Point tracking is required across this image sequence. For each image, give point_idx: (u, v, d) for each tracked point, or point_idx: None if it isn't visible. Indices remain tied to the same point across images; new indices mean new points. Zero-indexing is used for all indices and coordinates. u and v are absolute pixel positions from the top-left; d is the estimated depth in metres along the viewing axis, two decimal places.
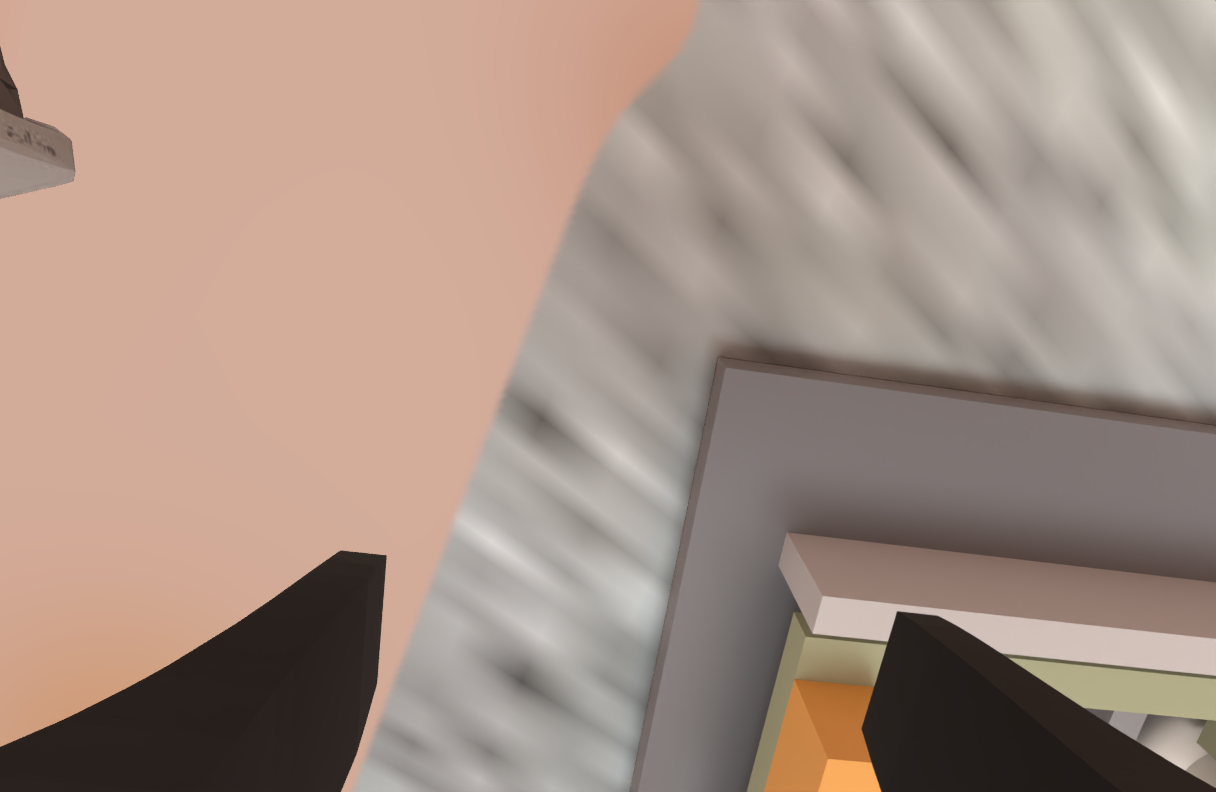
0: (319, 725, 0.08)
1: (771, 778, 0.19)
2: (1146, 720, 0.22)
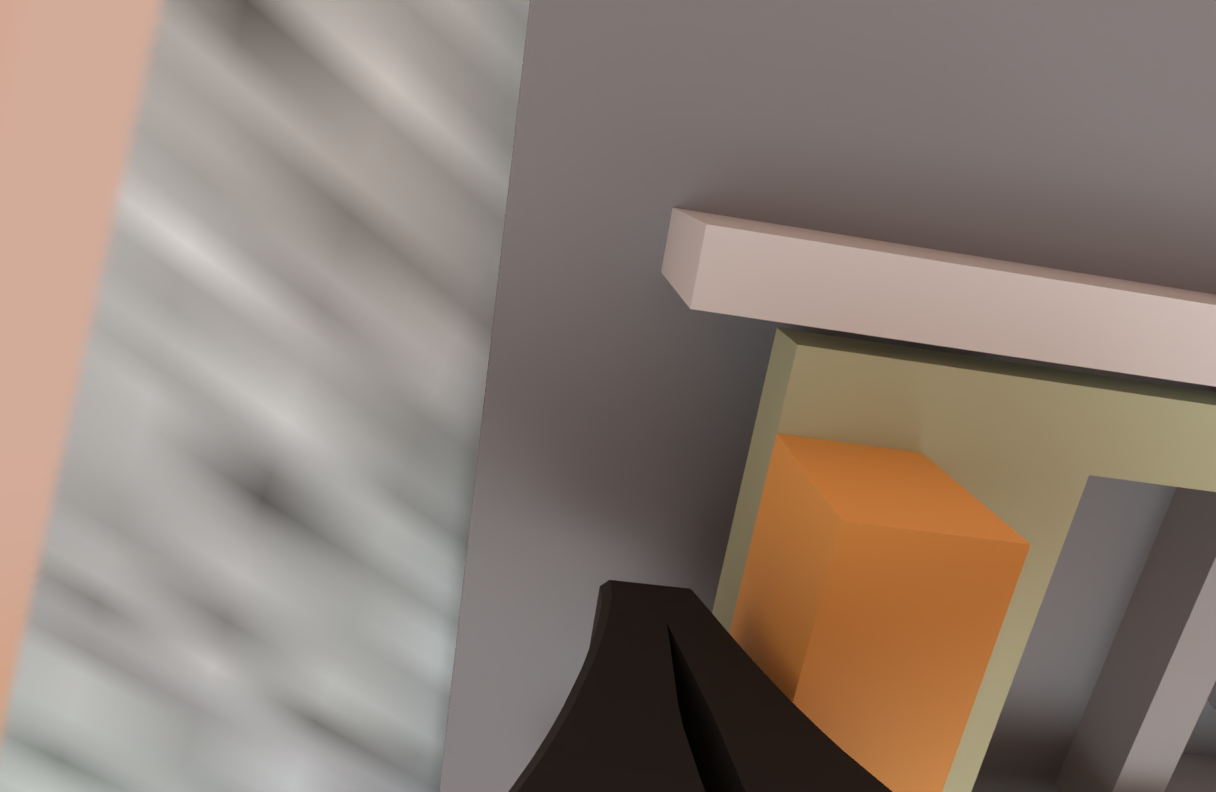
0: None
1: (736, 624, 0.10)
2: None
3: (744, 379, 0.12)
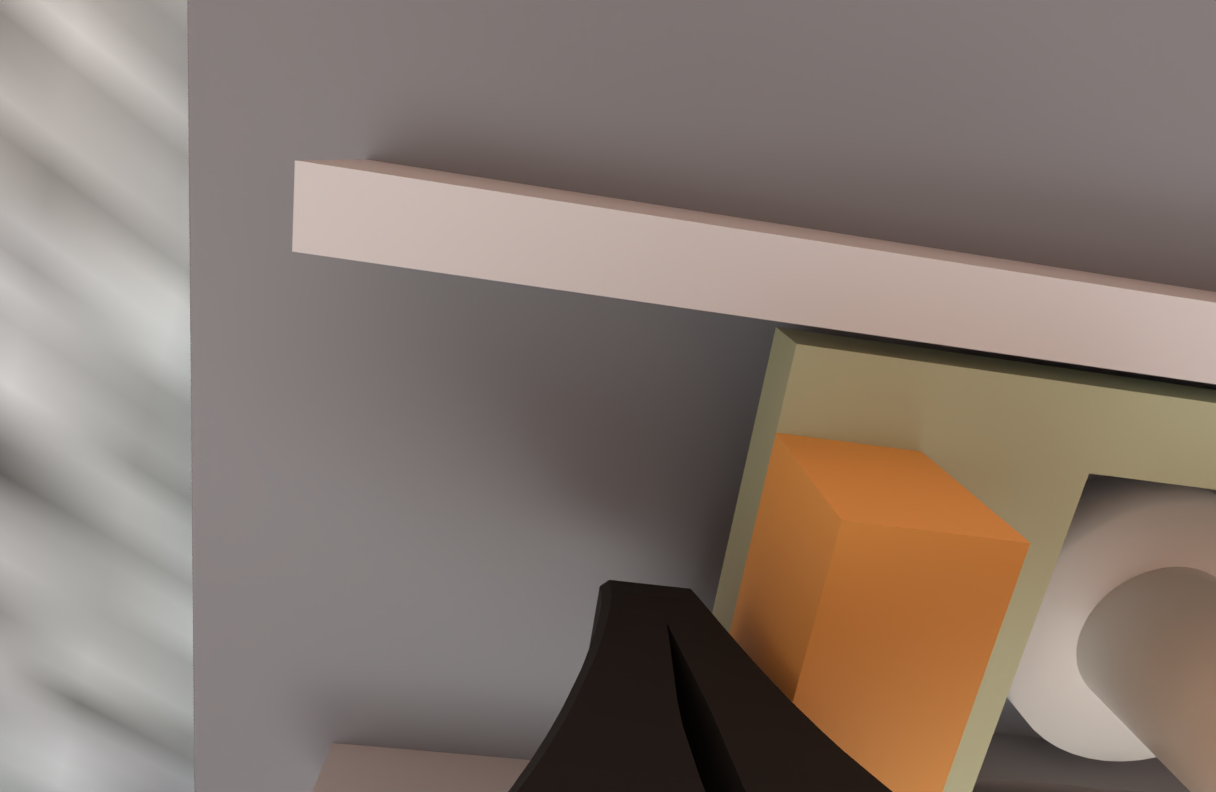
0: None
1: (737, 623, 0.10)
2: None
3: (462, 340, 0.12)
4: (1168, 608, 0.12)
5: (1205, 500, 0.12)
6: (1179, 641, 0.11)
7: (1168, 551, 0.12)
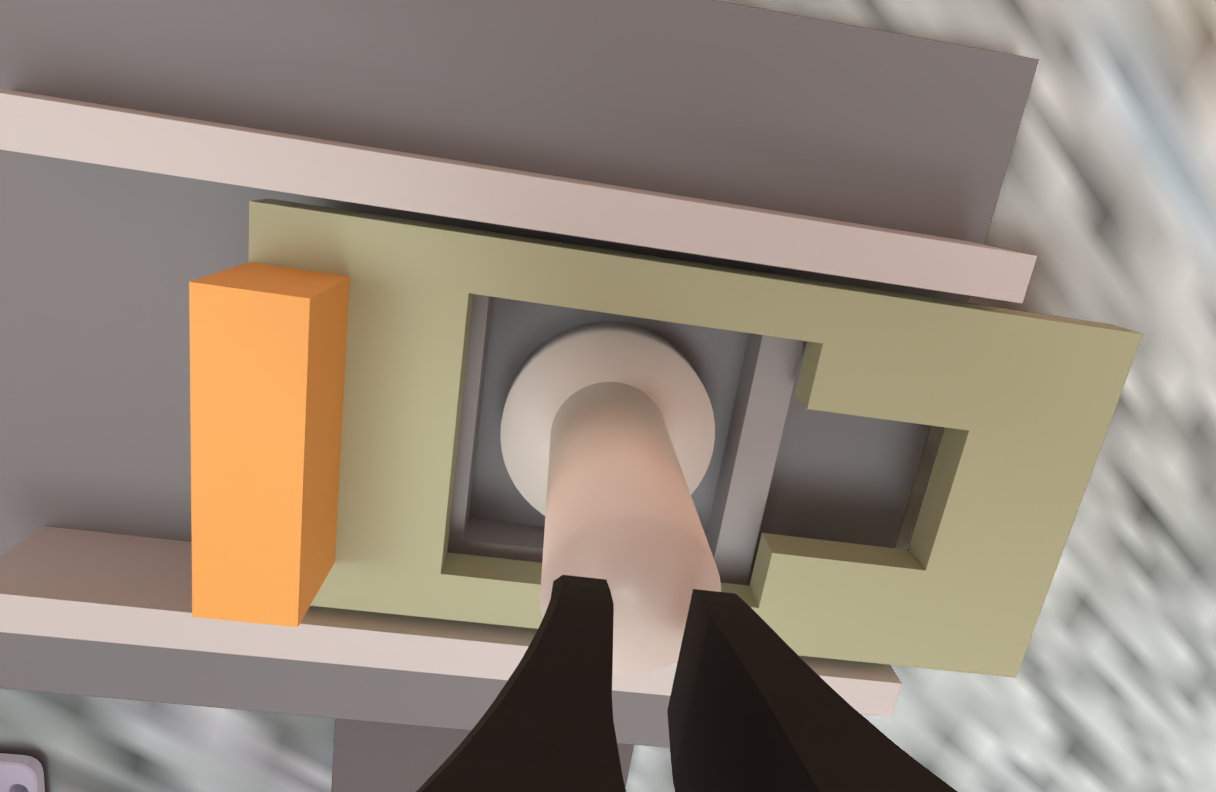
0: None
1: None
2: (524, 363, 0.19)
3: (96, 219, 0.17)
4: (578, 402, 0.17)
5: (619, 332, 0.18)
6: (567, 418, 0.17)
7: (600, 370, 0.18)
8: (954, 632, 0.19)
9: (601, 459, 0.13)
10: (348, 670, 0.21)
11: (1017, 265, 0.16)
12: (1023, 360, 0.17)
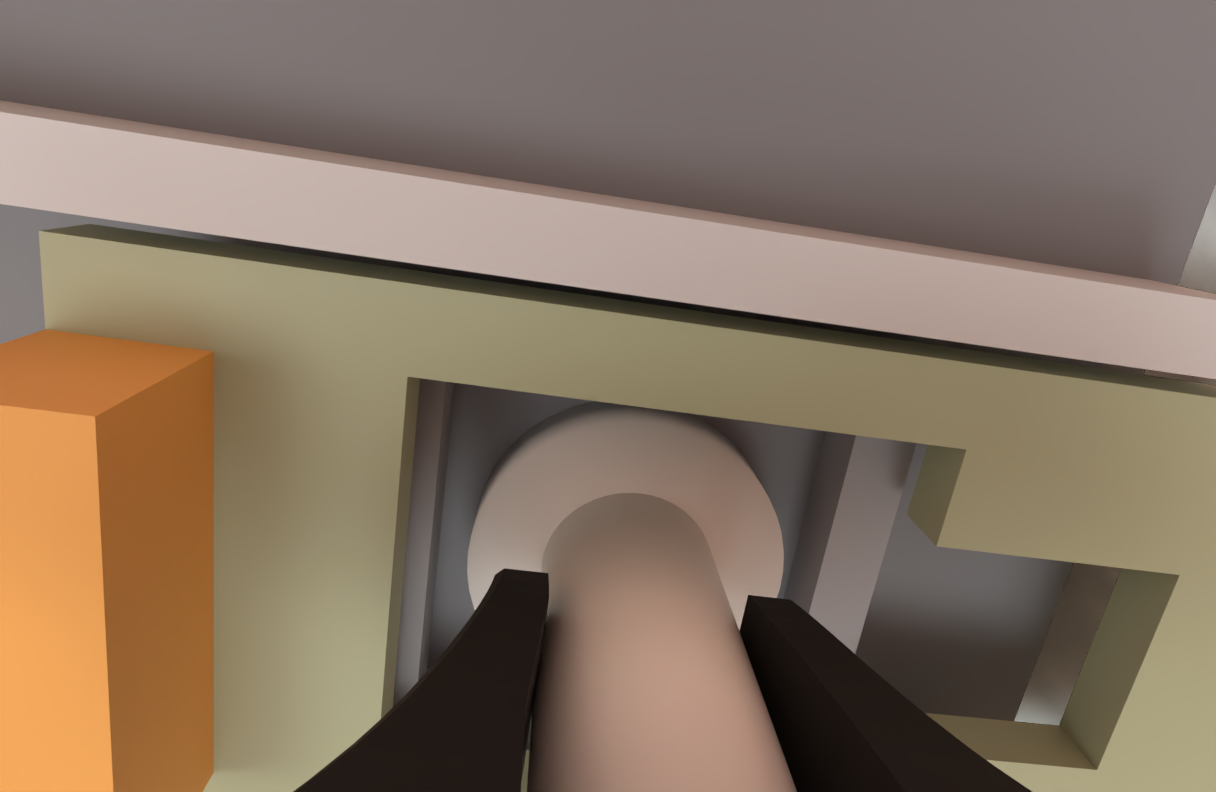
0: (523, 743, 0.08)
1: None
2: (504, 460, 0.13)
3: None
4: (583, 531, 0.11)
5: (644, 421, 0.12)
6: (566, 562, 0.11)
7: (616, 476, 0.12)
8: None
9: (627, 697, 0.08)
10: None
11: None
12: None
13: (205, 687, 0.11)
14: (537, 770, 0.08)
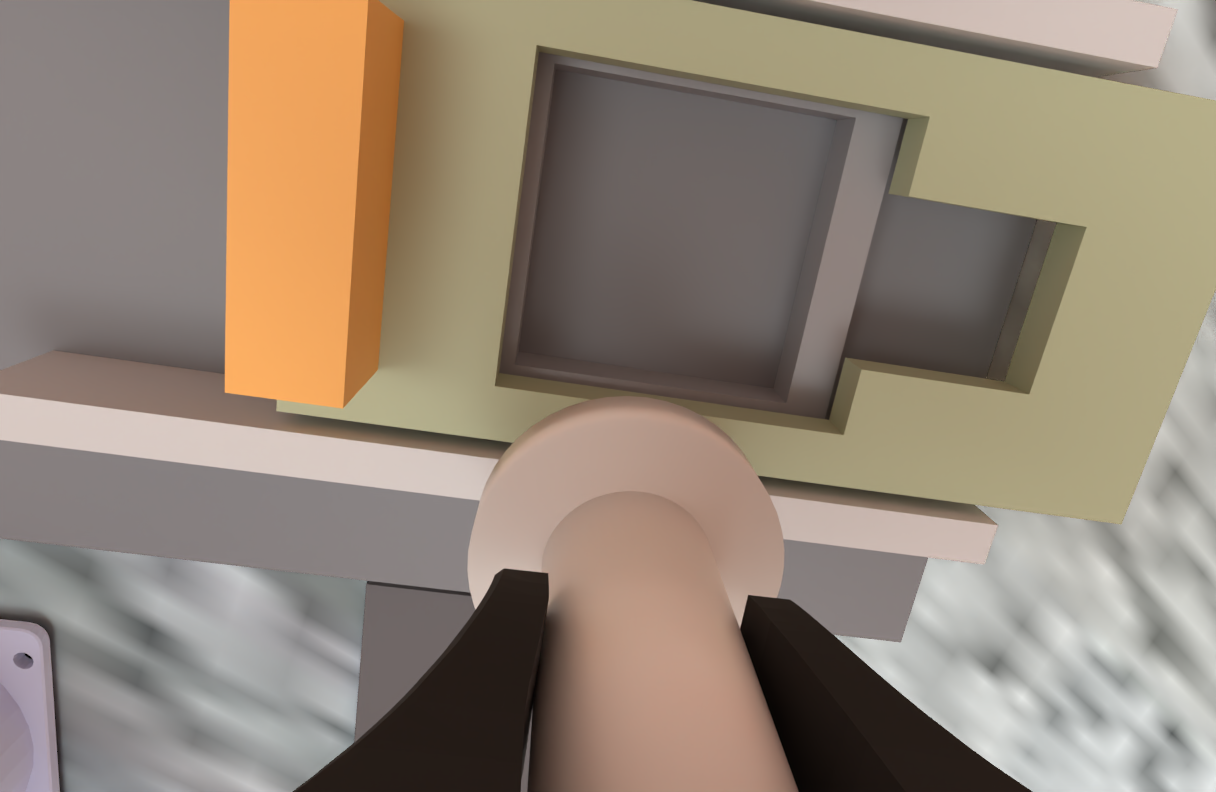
0: (523, 743, 0.08)
1: None
2: (504, 458, 0.13)
3: None
4: (583, 530, 0.11)
5: (645, 419, 0.12)
6: (567, 561, 0.11)
7: (616, 474, 0.12)
8: (1056, 469, 0.17)
9: (628, 694, 0.08)
10: (382, 526, 0.20)
11: (1154, 20, 0.14)
12: (1151, 143, 0.15)
13: (381, 288, 0.15)
14: (537, 768, 0.08)
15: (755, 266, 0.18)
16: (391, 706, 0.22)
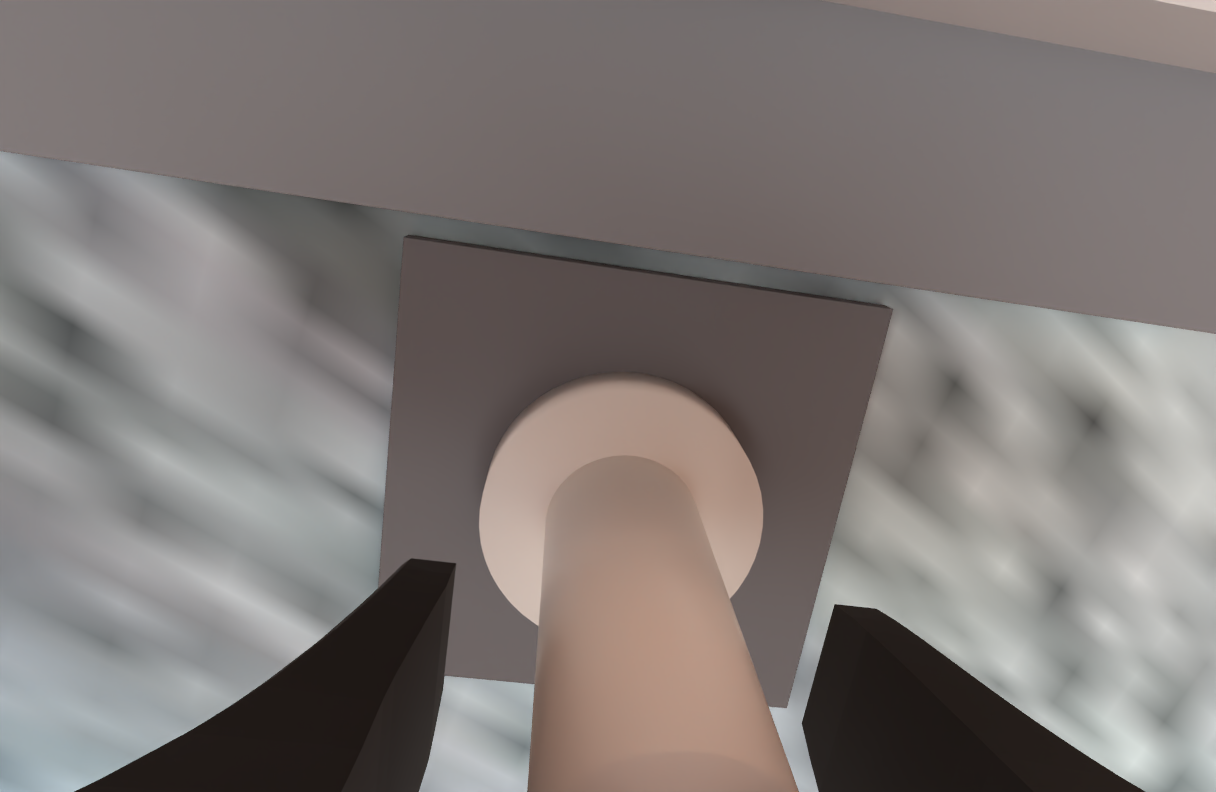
0: (407, 733, 0.08)
1: None
2: (512, 426, 0.14)
3: None
4: (583, 487, 0.13)
5: (638, 390, 0.13)
6: (568, 512, 0.12)
7: (613, 440, 0.13)
8: None
9: (619, 609, 0.09)
10: (432, 110, 0.12)
11: None
12: None
13: None
14: (543, 670, 0.09)
15: None
16: (440, 452, 0.15)
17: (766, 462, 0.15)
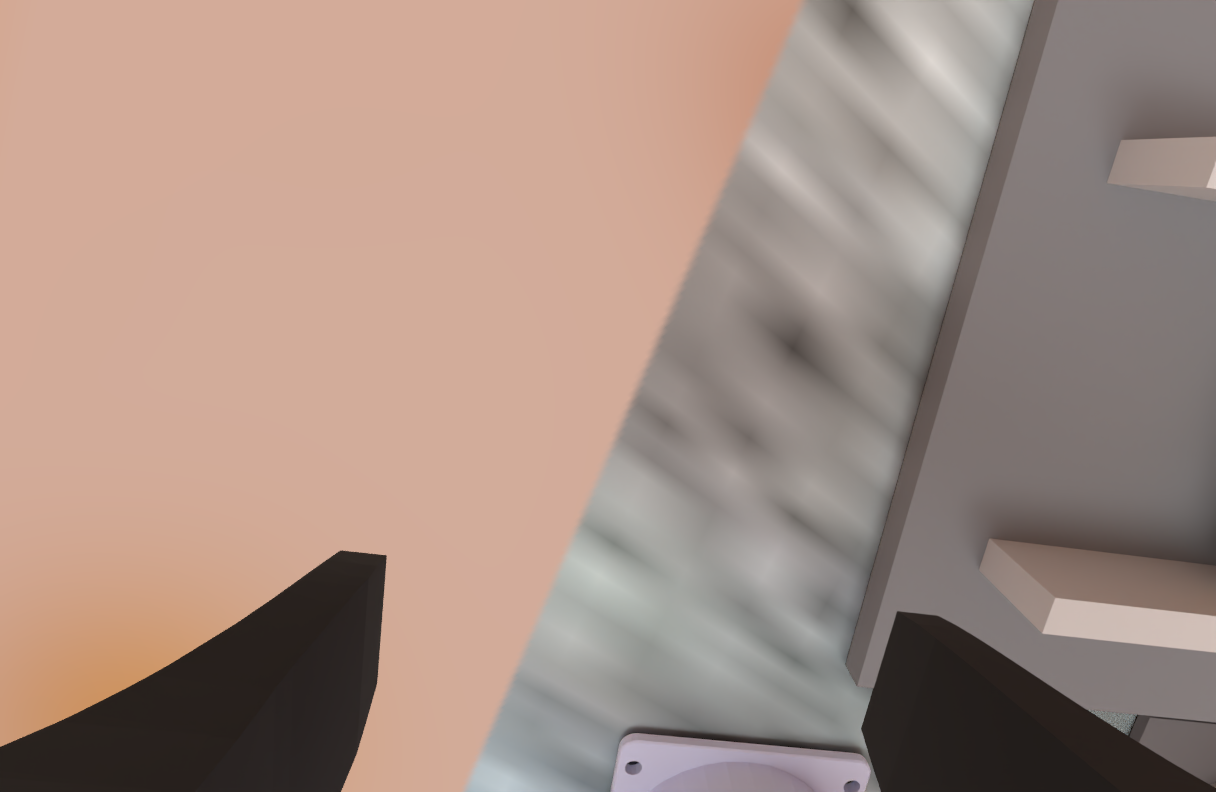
0: (318, 725, 0.08)
1: None
2: None
3: (1148, 256, 0.19)
4: None
5: None
6: None
7: None
8: None
9: None
10: (1203, 673, 0.23)
11: None
12: None
13: None
14: None
15: None
16: None
17: None
